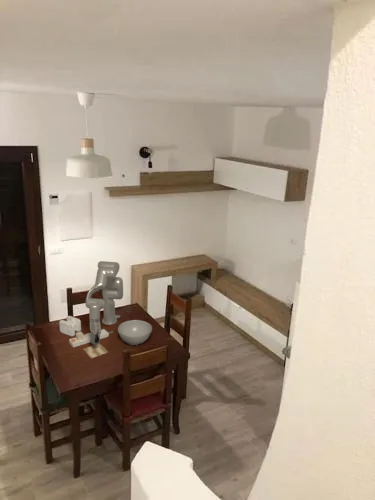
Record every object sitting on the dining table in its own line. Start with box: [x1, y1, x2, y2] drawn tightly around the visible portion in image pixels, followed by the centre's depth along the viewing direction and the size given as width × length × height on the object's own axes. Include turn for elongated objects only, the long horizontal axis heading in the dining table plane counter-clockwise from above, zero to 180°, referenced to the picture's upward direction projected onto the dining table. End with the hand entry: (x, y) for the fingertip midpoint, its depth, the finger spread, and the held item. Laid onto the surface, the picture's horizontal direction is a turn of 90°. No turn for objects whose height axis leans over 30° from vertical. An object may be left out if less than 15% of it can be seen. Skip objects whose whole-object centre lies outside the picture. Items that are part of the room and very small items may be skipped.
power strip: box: [68, 328, 114, 348], centre depth 325 cm, size 36×8×8 cm, turn 127°
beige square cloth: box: [82, 343, 109, 359], centre depth 310 cm, size 14×14×1 cm
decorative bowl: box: [117, 319, 153, 346], centre depth 324 cm, size 27×27×12 cm
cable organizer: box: [58, 315, 82, 337], centre depth 332 cm, size 15×11×12 cm
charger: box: [90, 332, 101, 346], centre depth 306 cm, size 5×5×8 cm
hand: (95, 340), depth 307 cm, fingers closed on charger, 5 cm apart
